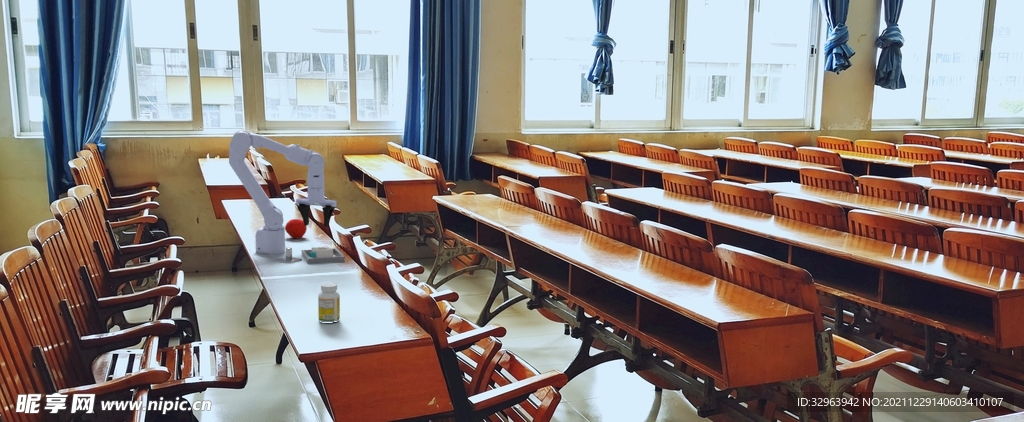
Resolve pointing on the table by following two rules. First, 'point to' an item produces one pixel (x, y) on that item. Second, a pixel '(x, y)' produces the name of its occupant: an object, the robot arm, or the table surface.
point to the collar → (321, 252)
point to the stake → (289, 257)
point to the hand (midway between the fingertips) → (316, 225)
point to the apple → (296, 228)
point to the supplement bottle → (329, 303)
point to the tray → (323, 259)
